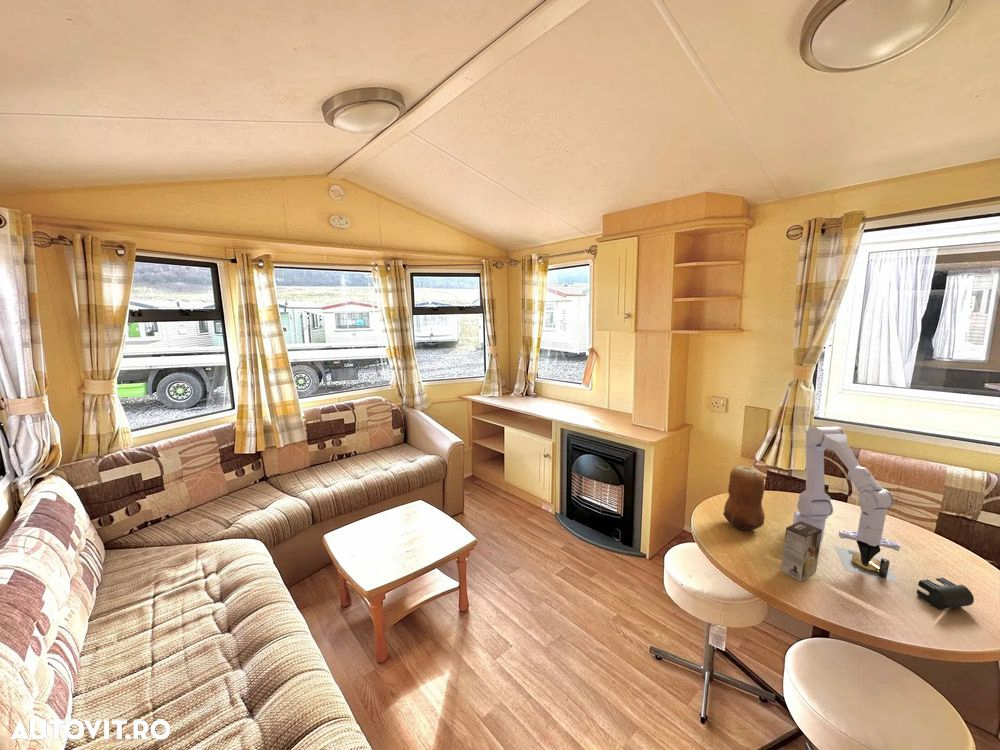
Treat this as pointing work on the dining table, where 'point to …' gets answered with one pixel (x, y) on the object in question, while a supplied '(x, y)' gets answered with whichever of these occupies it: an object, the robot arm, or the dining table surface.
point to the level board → (850, 566)
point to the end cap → (945, 594)
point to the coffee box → (801, 550)
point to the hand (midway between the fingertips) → (864, 562)
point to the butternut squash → (745, 498)
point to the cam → (873, 565)
